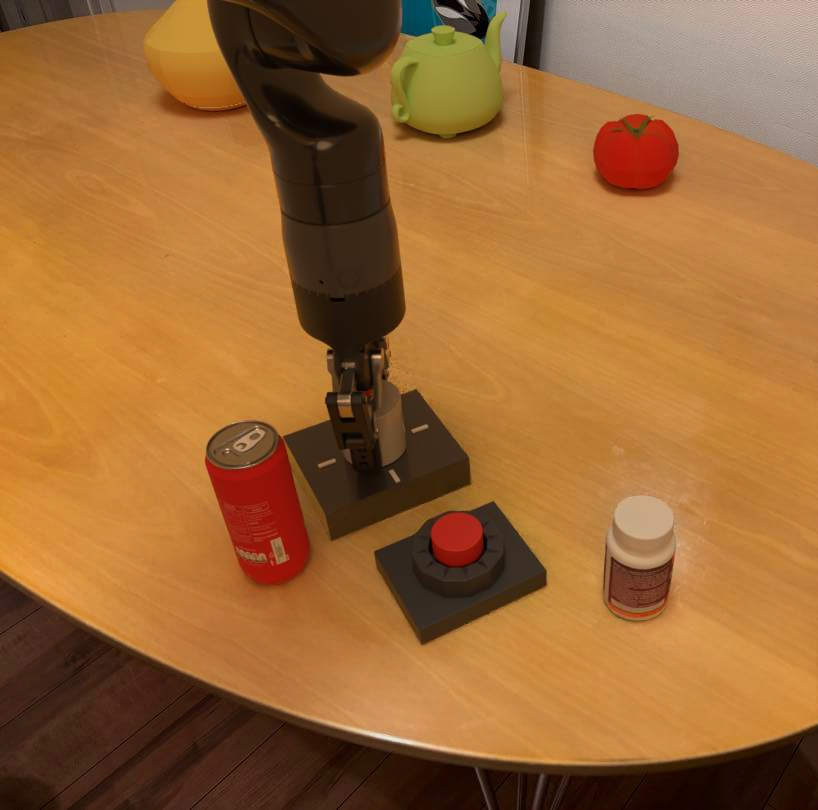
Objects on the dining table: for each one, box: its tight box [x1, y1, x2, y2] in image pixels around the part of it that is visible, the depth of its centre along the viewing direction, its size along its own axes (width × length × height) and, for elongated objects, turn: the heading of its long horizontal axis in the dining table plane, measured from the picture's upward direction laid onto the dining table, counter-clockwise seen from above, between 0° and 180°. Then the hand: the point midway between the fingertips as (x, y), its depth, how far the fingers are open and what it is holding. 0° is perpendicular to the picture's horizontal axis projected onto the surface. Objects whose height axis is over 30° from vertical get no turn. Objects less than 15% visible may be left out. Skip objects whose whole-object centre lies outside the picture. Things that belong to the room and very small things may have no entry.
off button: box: [431, 513, 483, 567], centre depth 62 cm, size 4×4×2 cm
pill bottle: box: [602, 494, 677, 622], centre depth 61 cm, size 5×5×8 cm
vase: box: [142, 0, 247, 112], centre depth 128 cm, size 18×18×19 cm
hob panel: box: [282, 388, 472, 541], centre depth 72 cm, size 12×10×3 cm
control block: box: [373, 500, 548, 645], centre depth 64 cm, size 10×8×4 cm
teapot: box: [389, 11, 508, 139], centre depth 124 cm, size 22×15×13 cm
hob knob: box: [342, 379, 407, 467], centre depth 69 cm, size 5×5×5 cm
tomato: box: [592, 113, 680, 190], centre depth 111 cm, size 11×11×8 cm
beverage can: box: [204, 419, 311, 586], centre depth 62 cm, size 5×5×12 cm
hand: (372, 442), depth 71 cm, fingers closed on hob knob, 5 cm apart
